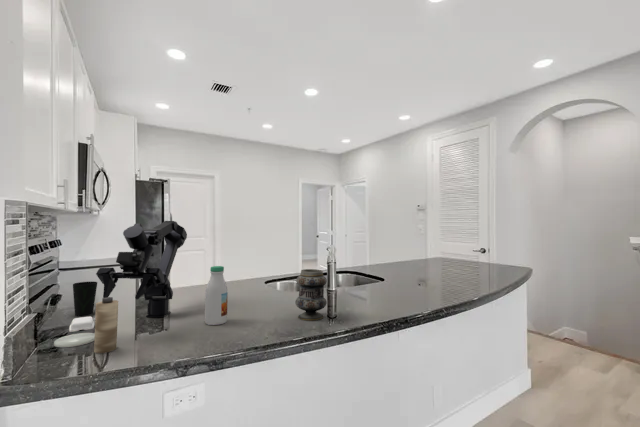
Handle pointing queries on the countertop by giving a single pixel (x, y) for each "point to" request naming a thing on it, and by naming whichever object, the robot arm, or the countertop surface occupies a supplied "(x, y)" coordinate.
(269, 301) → the countertop surface
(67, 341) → the saucer
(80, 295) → the cup
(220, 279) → the milk bottle
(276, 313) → the countertop surface
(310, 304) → the apothecary jar
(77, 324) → the soap
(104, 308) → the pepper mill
